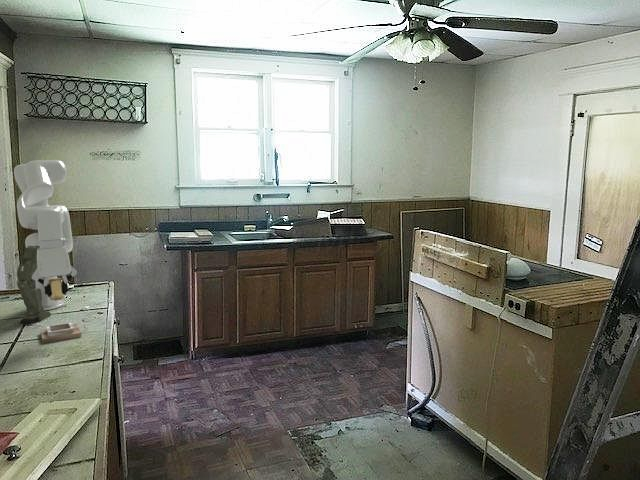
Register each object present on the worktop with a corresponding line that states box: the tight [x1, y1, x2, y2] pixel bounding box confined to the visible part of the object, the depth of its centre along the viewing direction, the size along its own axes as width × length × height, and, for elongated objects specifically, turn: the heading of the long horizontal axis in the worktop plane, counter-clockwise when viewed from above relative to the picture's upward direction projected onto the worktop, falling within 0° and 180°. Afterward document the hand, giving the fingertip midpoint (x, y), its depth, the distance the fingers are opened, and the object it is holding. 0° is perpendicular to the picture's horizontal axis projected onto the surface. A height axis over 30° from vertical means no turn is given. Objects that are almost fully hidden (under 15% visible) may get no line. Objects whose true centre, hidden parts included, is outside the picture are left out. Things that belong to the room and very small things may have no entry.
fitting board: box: [39, 322, 82, 344], centre depth 182 cm, size 11×12×3 cm
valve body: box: [48, 277, 65, 301], centre depth 180 cm, size 4×4×7 cm
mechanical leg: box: [16, 246, 51, 325], centre depth 199 cm, size 14×7×30 cm, turn 168°
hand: (56, 294), depth 180 cm, fingers closed on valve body, 4 cm apart
